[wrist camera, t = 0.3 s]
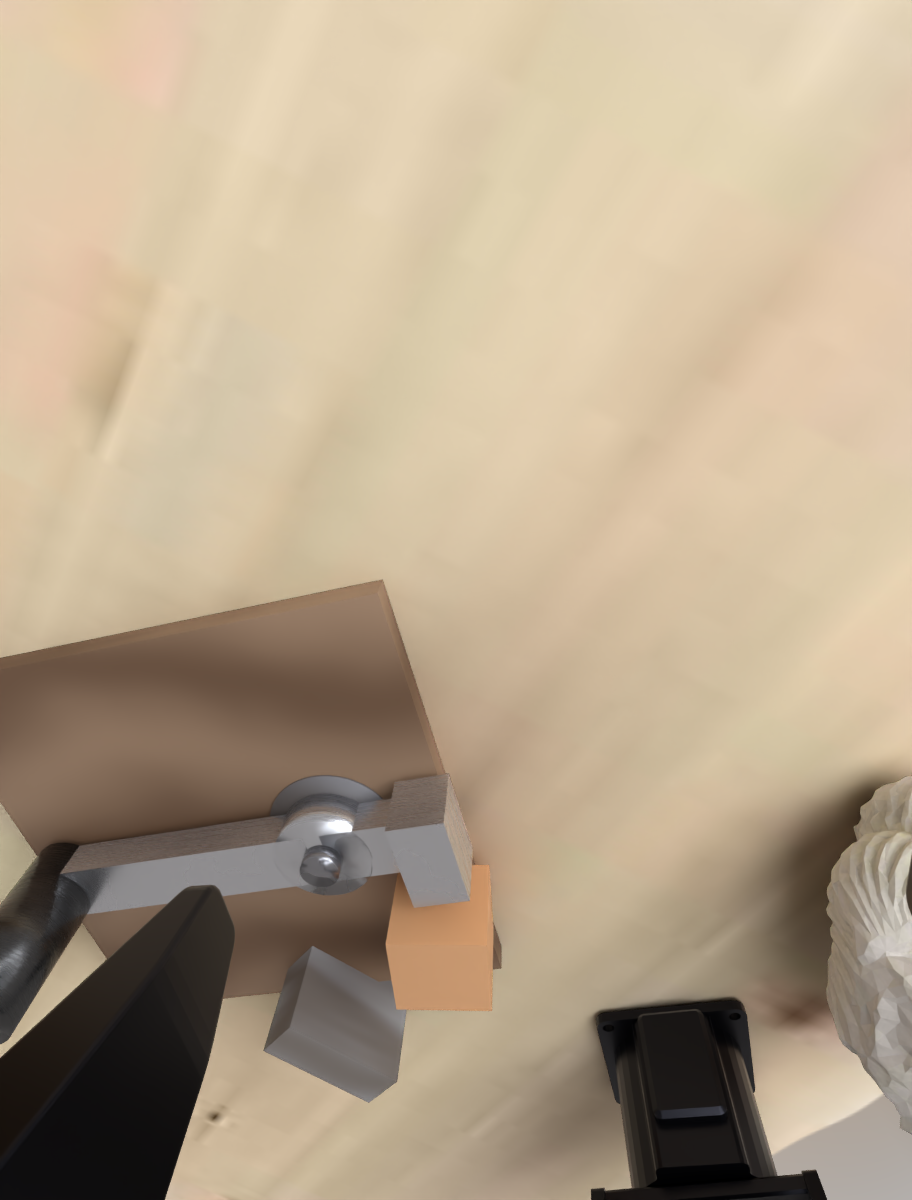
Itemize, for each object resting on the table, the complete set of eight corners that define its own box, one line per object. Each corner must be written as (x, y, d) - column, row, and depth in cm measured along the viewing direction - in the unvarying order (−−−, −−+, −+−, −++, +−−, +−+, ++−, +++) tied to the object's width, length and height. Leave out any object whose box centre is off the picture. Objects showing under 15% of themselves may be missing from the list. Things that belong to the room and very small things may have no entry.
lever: (472, 847, 26) (463, 1007, 21) (64, 903, 29) (-39, 1057, 24) (448, 773, 25) (432, 923, 19) (20, 840, 28) (-101, 988, 22)
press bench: (513, 984, 32) (514, 1091, 28) (171, 1019, 35) (127, 1121, 31) (382, 579, 23) (356, 649, 19) (-59, 670, 26) (-162, 748, 22)
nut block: (493, 927, 29) (492, 1011, 26) (408, 927, 29) (396, 1009, 26) (489, 865, 27) (486, 945, 24) (399, 865, 28) (385, 944, 24)
